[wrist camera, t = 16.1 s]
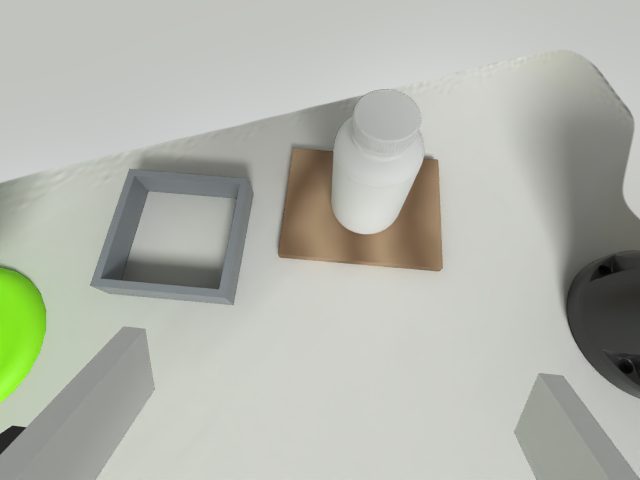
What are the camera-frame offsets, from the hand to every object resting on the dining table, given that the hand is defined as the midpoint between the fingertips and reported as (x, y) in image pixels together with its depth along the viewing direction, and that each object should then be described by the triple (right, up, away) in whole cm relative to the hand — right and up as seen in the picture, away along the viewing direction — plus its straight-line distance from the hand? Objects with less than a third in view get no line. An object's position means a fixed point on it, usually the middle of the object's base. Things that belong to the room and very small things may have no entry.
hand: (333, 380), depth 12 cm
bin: (-16, +5, +28) cm, 33 cm away
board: (+5, +9, +30) cm, 32 cm away
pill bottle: (+5, +9, +29) cm, 31 cm away
